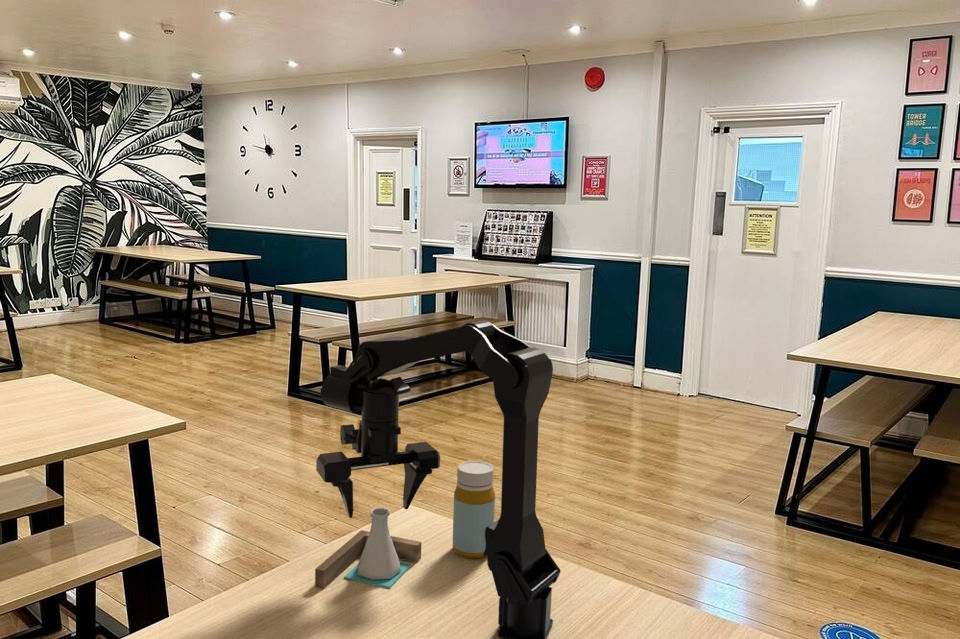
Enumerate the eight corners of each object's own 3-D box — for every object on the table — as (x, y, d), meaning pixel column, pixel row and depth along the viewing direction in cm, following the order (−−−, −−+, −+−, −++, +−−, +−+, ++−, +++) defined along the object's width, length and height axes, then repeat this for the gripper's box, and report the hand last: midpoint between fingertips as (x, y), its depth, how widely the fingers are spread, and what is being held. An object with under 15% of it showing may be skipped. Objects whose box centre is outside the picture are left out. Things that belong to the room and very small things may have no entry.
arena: (420, 558, 123) (421, 541, 123) (381, 602, 109) (381, 583, 109) (360, 546, 127) (361, 530, 126) (315, 587, 113) (315, 568, 113)
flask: (349, 578, 115) (350, 518, 114) (364, 557, 122) (364, 500, 121) (394, 583, 114) (395, 522, 113) (406, 562, 121) (407, 504, 120)
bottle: (446, 545, 129) (448, 462, 126) (482, 538, 132) (485, 458, 129) (462, 563, 122) (465, 476, 120) (499, 555, 125) (503, 471, 123)
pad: (411, 565, 121) (411, 563, 121) (390, 588, 113) (390, 586, 113) (367, 556, 123) (367, 554, 123) (344, 578, 116) (344, 576, 116)
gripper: (417, 400, 126) (414, 486, 128) (308, 409, 118) (307, 502, 120) (442, 417, 116) (439, 511, 118) (325, 429, 108) (325, 529, 110)
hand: (378, 512), depth 117 cm, fingers open, 9 cm apart
